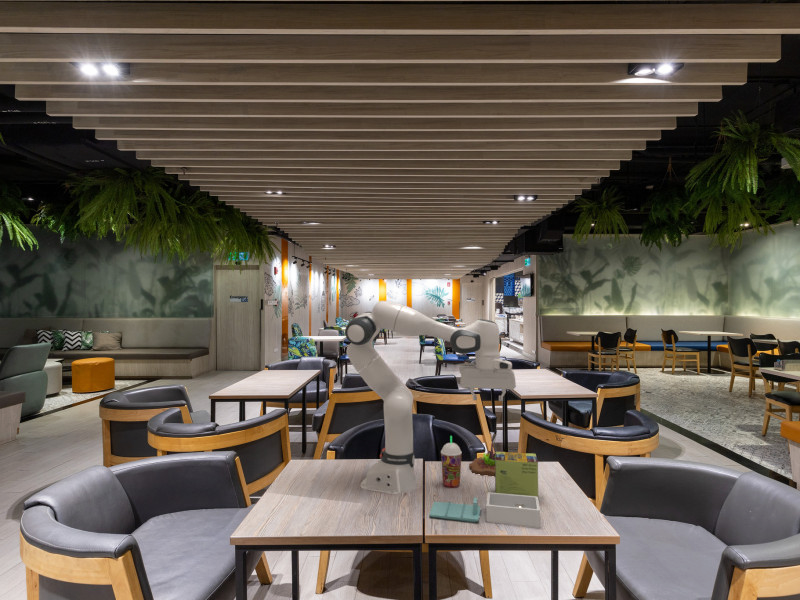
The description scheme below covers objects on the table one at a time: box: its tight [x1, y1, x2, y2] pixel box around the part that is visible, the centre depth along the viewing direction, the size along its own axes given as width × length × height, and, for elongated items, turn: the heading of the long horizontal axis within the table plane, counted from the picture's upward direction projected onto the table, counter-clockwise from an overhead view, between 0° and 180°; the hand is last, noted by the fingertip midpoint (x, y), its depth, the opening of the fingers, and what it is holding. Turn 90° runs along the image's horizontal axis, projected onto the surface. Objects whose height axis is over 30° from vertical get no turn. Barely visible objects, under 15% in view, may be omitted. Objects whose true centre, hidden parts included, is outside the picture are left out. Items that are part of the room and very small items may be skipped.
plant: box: [468, 442, 503, 478], centre depth 202 cm, size 20×20×11 cm
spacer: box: [515, 504, 525, 508], centre depth 156 cm, size 3×3×3 cm
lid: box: [429, 497, 481, 523], centre depth 157 cm, size 16×10×6 cm, turn 77°
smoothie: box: [440, 435, 463, 489], centre depth 183 cm, size 8×8×20 cm
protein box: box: [494, 451, 539, 498], centre depth 172 cm, size 10×15×16 cm
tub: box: [485, 491, 541, 529], centre depth 155 cm, size 17×11×6 cm, turn 77°
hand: (487, 400), depth 169 cm, fingers open, 8 cm apart
